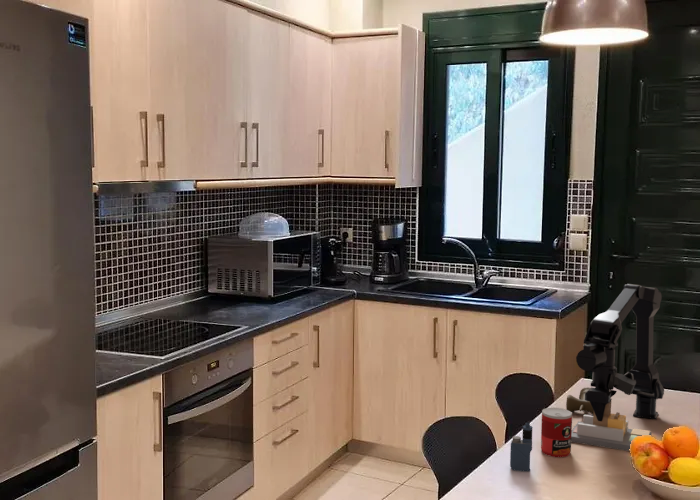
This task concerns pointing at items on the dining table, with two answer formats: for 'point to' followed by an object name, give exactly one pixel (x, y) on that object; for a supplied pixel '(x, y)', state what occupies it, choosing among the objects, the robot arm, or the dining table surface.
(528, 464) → the vaping device
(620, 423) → the knob
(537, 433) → the dining table surface
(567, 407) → the kendama
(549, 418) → the canned food
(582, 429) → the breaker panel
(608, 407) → the walnut block
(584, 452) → the dining table surface
